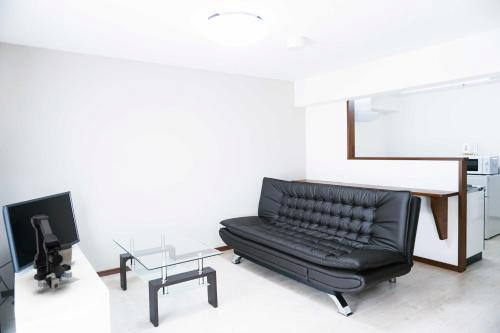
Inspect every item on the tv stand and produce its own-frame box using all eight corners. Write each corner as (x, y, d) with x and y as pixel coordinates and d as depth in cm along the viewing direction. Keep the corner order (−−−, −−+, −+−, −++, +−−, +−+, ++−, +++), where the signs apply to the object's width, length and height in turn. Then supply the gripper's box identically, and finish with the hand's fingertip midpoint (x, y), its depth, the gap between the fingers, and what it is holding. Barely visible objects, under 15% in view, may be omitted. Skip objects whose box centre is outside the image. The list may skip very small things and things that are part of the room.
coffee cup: (75, 262, 236) (74, 242, 235) (69, 267, 227) (67, 246, 226) (62, 263, 236) (61, 242, 234) (55, 268, 227) (54, 246, 225)
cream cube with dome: (44, 285, 198) (44, 278, 198) (51, 283, 201) (50, 275, 201) (54, 288, 194) (53, 281, 193) (60, 286, 197) (60, 278, 197)
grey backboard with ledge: (37, 287, 198) (37, 276, 197) (66, 276, 213) (65, 266, 213) (51, 292, 191) (51, 281, 191) (80, 280, 206) (79, 270, 206)
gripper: (44, 268, 183) (45, 295, 185) (76, 257, 200) (77, 282, 201) (32, 264, 189) (34, 291, 190) (64, 254, 205) (66, 279, 206)
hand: (54, 286), depth 197 cm, fingers closed on cream cube with dome, 4 cm apart
